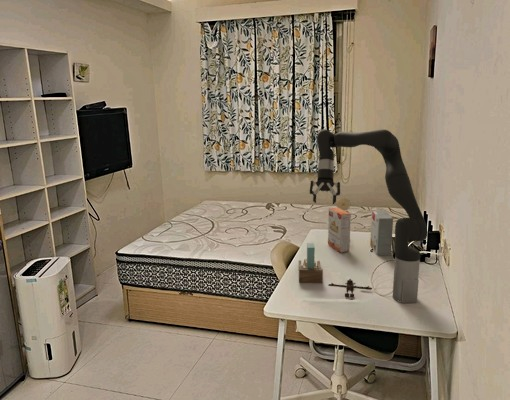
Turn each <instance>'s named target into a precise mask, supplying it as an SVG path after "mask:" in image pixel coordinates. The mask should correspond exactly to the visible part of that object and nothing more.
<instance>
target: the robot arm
mask: <svg viewBox="0 0 510 400" xmlns="http://www.w3.org/2000/svg"><path fill="white" fill-rule="evenodd" d="M316 142H317V144H316V145H317V149H318V156H319V157H318V163H317V178H316V179H317V180H316V181H314V180H310V185H309V186H310V187H309V194H310V195H312V202H313V203H314V204H317V194H319V192H320V191H321V192H330V193H331V195H332V205H335V204H336V203H337V197H338V196H341V182H340V181H338V182H334V181H335V180H334V176H335V175H334V174H335V163H334V162H335V160H334V159H335V158H334V157H335V152H334V150H333V148H334V149H335V148H356V147H358V146H370V147H372V148H374V149H375V150H377V151H378V152H379V154H380V155H382V158H383V161H384V163H385V174H384V175H385V176H384V178H385V179H384V180H385V184H386V188H387V191H388V193H389V195H390V197H391V198H392V199H393V200H394V201H396V203H397V204H398V205H400V206H401V208H403V210H404V211H405V213H406V214H407V217H400V218H398V219H397V220H396V222H395V227H394V251H395V253H394V269H393V281H392V298H393V299H394V300H395V301H398V302H400V303H402V304H406V303H407V304H409V303H412V304H413V303H418V294H419V293H418V292H419V274H420V264H421V263H420V262H421V252H420V251H419V250H418V249H417V248H415V247H412V246H409V242H410V243H411V242H423V241H425V240H426V239H427V237H428V226H427V223H426V220H425V218H424V216H423V214H422V212H421V209H420V207H419V204H418V202H417V199H416V196H415V193H414V190H413V187H412V183H411V180H410V177H409V173H408V171H407V169H406V166H405V163H404V161H403V158H402V152H401V148H400V143H399V140H398V138H397V137H396V136H395V135H394V134H393V133H392V132H391V130H388V129H376V130H375V129H374V130H368V131H359V132H358V131H356V132H355V131H353V132H351V131H339V132H337V133H333V132H331V131H330V130H328V129H321V130H320V131H319V132H318V134H317V136H316ZM315 186H317V188H316V189H315V190H313V188H314V187H315ZM334 186H335V188H336V191H335V190H334V188H333V187H334Z"/></svg>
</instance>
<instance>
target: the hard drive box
mask: <svg viewBox="0 0 510 400" xmlns="http://www.w3.org/2000/svg"><path fill="white" fill-rule="evenodd" d="M370 219H371V222H370V242H369V244H370V247H371V248H372V250H373V252H374V254H375V255H376V256H391V255H392V243H393V228H394V227H393V225H394V218H393V217H392V216H391V214H389V212H387V210H383V209H381V210H379V209H378V210H374V209H373V210H371V218H370Z"/></svg>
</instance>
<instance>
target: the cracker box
mask: <svg viewBox="0 0 510 400" xmlns="http://www.w3.org/2000/svg"><path fill="white" fill-rule="evenodd" d="M346 211H347V210H345V211H344V210H342V209H340V208H337V207H330V208H328V223H327V224H328V227H327V229H328V232H327V234H328V236H327V237H328V238H327V245H328V246H330V247H331V248H333V249H335V251H337V252H339V253H347V252H350V243H351V242H350V241H351V240H350V239H351V217H352V216H351V215H352V214H351V213H350V212H349V211H348V212H349V213H348V212H346Z"/></svg>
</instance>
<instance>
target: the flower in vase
mask: <svg viewBox="0 0 510 400" xmlns="http://www.w3.org/2000/svg"><path fill="white" fill-rule="evenodd" d="M335 205H336V208H340V209H342V210H344V211H346V212H348V213H350V211H348V210H349V208H350V206H351V205H352V203H351V199H349V198H347V197H345V196H344V197H342V198H339V199H338V200H336V203H335Z"/></svg>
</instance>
